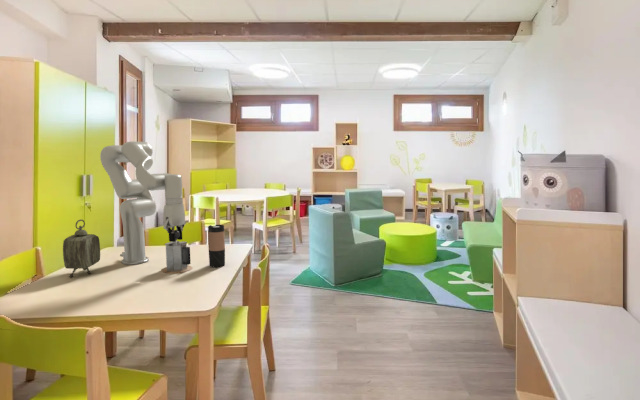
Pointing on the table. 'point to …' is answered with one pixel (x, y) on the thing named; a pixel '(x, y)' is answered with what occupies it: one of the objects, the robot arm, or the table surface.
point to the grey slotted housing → (177, 256)
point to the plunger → (176, 235)
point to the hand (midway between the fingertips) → (175, 240)
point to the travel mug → (216, 246)
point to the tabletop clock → (81, 250)
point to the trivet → (176, 272)
